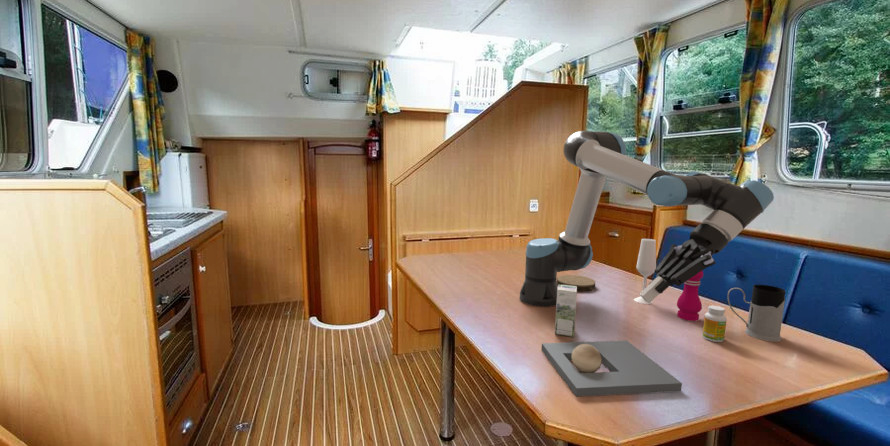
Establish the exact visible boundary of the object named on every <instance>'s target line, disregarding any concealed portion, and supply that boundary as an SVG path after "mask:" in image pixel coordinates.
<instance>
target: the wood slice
mask: <svg viewBox="0 0 890 446" xmlns="http://www.w3.org/2000/svg"><path fill="white" fill-rule="evenodd" d="M556 283H557V286H558V285H568V286H577V293H580V292H581V293H585V292H587V293H588V292H592V291H595V289H596V280H594V279H593V278H591V277H588V276H583V275H577V274H564V275H558V276H557V277H556Z"/></svg>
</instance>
